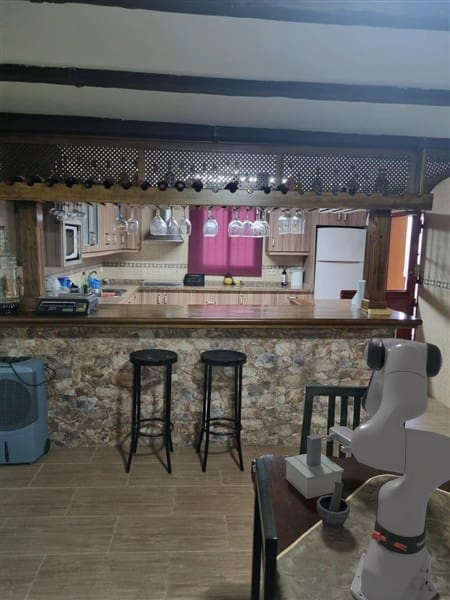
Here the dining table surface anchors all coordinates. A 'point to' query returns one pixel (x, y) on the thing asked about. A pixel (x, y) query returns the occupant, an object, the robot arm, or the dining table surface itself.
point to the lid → (313, 461)
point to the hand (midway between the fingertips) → (333, 444)
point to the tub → (312, 483)
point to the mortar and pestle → (333, 509)
